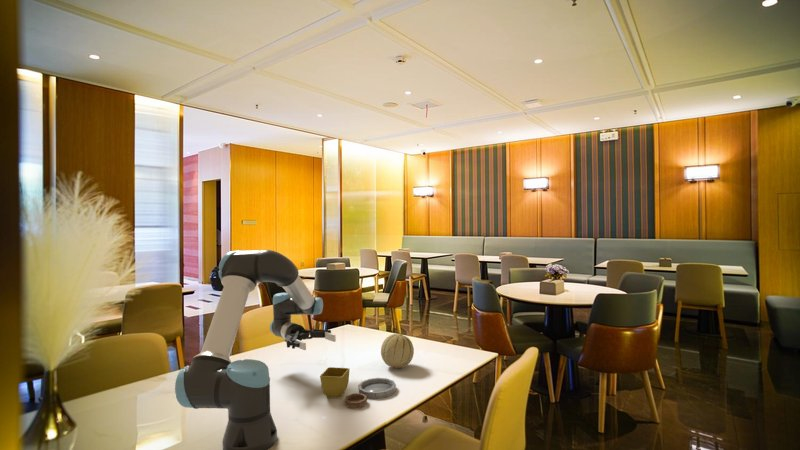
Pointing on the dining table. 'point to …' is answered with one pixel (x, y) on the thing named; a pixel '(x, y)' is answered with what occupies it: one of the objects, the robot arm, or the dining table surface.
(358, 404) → the brown octagonal saucer
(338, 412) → the dining table surface
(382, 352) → the cantaloupe
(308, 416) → the dining table surface
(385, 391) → the grey saucer
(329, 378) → the flower pot
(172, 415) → the dining table surface
